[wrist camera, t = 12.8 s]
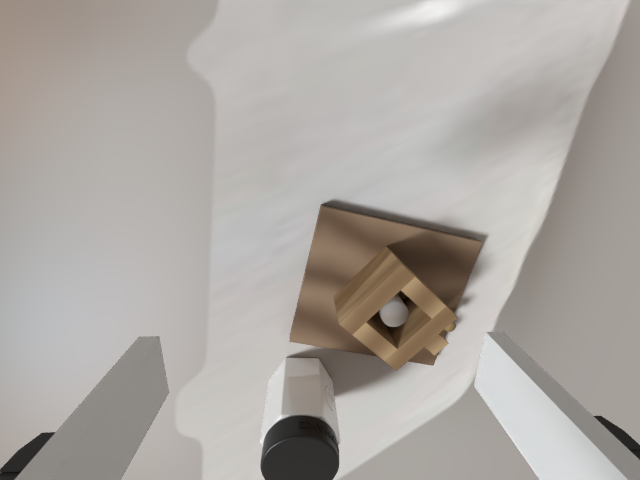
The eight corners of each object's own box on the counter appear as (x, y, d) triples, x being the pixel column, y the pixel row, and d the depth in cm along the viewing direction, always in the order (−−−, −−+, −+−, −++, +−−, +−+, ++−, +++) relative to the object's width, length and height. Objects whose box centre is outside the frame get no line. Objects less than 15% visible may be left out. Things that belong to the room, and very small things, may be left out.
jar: (340, 391, 43) (354, 479, 31) (290, 413, 43) (285, 507, 32) (312, 344, 40) (316, 421, 29) (259, 368, 41) (243, 453, 29)
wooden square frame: (333, 297, 37) (338, 324, 31) (385, 245, 35) (402, 264, 29) (409, 361, 40) (427, 396, 34) (460, 317, 38) (488, 346, 33)
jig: (321, 204, 35) (325, 215, 28) (475, 239, 37) (510, 256, 31) (290, 334, 39) (287, 368, 33) (428, 358, 42) (450, 394, 36)
